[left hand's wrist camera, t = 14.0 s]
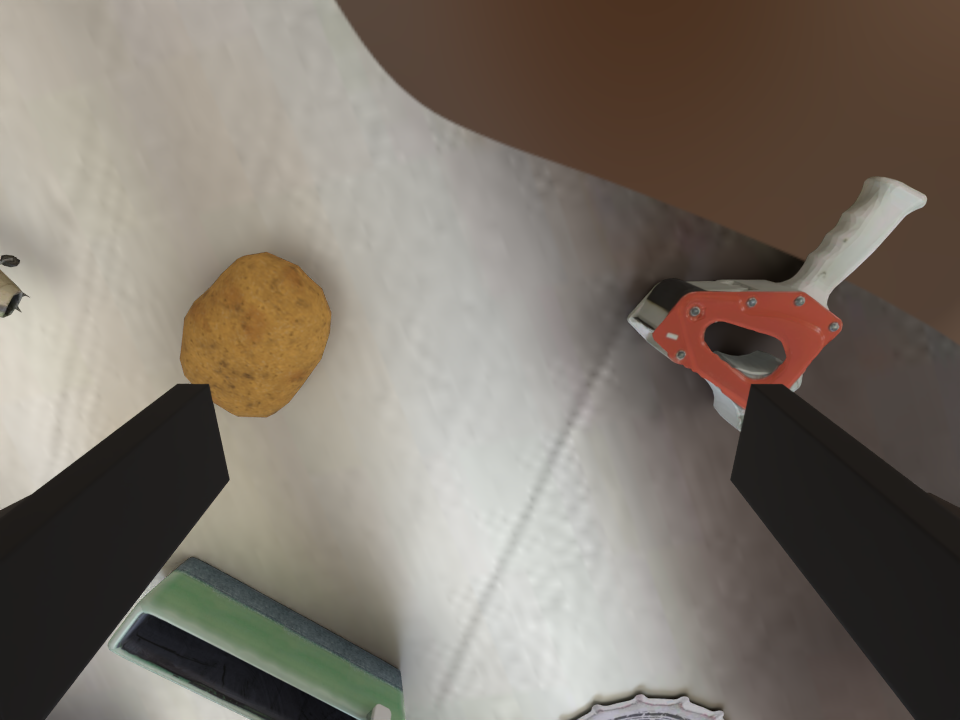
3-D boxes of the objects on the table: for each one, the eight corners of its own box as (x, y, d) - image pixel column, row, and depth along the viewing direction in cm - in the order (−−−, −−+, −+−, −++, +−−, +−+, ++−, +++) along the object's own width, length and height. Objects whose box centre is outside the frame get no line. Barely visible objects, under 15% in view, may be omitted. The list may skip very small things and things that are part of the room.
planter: (151, 584, 51) (101, 650, 44) (185, 540, 49) (138, 601, 42) (379, 704, 57) (366, 777, 51) (418, 669, 55) (409, 741, 49)
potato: (184, 346, 41) (129, 381, 35) (264, 218, 38) (220, 232, 31) (283, 410, 43) (249, 454, 37) (369, 296, 40) (347, 323, 33)
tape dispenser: (890, 171, 38) (621, 208, 38) (957, 168, 33) (648, 212, 33) (864, 391, 43) (630, 425, 43) (918, 417, 38) (654, 456, 38)
